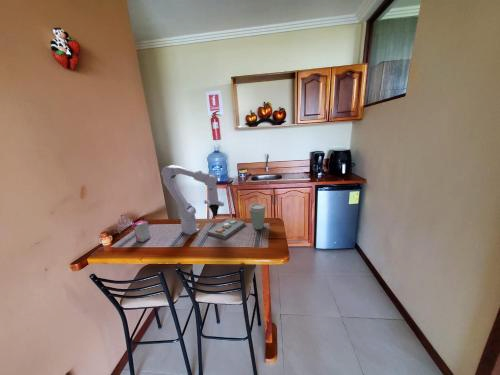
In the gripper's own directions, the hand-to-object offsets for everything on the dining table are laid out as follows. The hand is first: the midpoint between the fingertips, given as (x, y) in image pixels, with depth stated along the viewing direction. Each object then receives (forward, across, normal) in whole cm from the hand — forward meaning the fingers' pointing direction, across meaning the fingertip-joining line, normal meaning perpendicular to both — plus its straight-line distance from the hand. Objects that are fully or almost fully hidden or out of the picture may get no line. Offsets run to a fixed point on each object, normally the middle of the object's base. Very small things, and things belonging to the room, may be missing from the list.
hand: (215, 215), depth 123 cm
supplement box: (+11, -34, -29) cm, 46 cm away
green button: (+10, +5, +10) cm, 15 cm away
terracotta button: (+10, +5, -3) cm, 11 cm away
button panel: (+10, +5, +4) cm, 12 cm away
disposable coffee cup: (+11, +22, +15) cm, 29 cm away
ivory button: (+9, +5, +4) cm, 11 cm away
